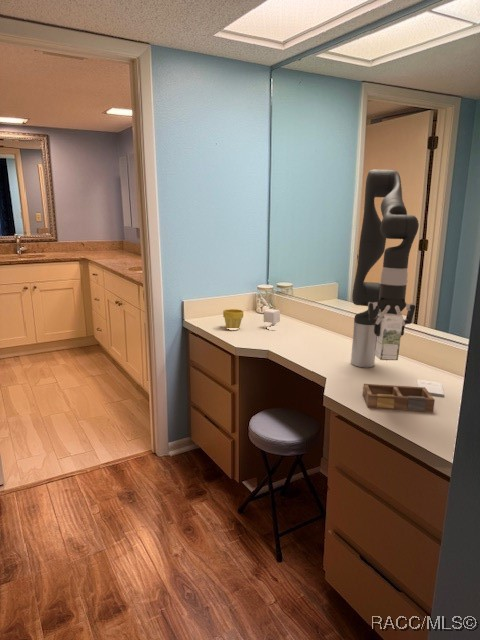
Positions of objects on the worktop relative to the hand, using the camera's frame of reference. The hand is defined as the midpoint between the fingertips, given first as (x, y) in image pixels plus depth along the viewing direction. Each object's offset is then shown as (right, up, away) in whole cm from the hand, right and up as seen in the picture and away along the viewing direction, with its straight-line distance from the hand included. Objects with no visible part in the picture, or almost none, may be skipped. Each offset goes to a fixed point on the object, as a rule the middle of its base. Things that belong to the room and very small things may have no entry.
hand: (388, 335), depth 140 cm
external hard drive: (+20, -20, +17) cm, 33 cm away
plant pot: (-50, 0, +95) cm, 107 cm away
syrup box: (0, -7, +2) cm, 7 cm away
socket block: (+4, -22, +4) cm, 22 cm away
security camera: (-29, 0, +97) cm, 101 cm away
